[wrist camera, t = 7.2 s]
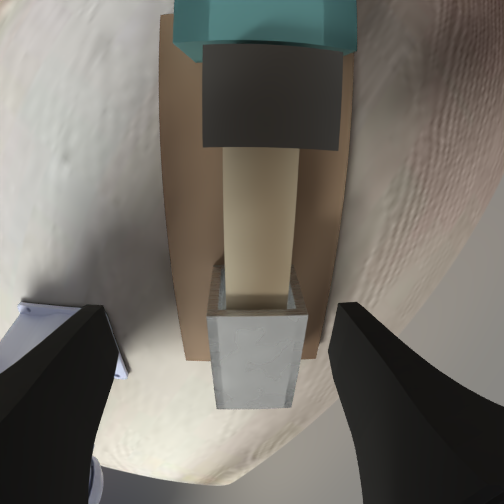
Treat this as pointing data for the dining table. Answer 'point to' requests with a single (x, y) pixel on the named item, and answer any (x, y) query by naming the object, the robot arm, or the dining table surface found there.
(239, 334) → the sleeve
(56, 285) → the dining table surface
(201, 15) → the socket
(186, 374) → the dining table surface
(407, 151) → the dining table surface
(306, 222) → the base board
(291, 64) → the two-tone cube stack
